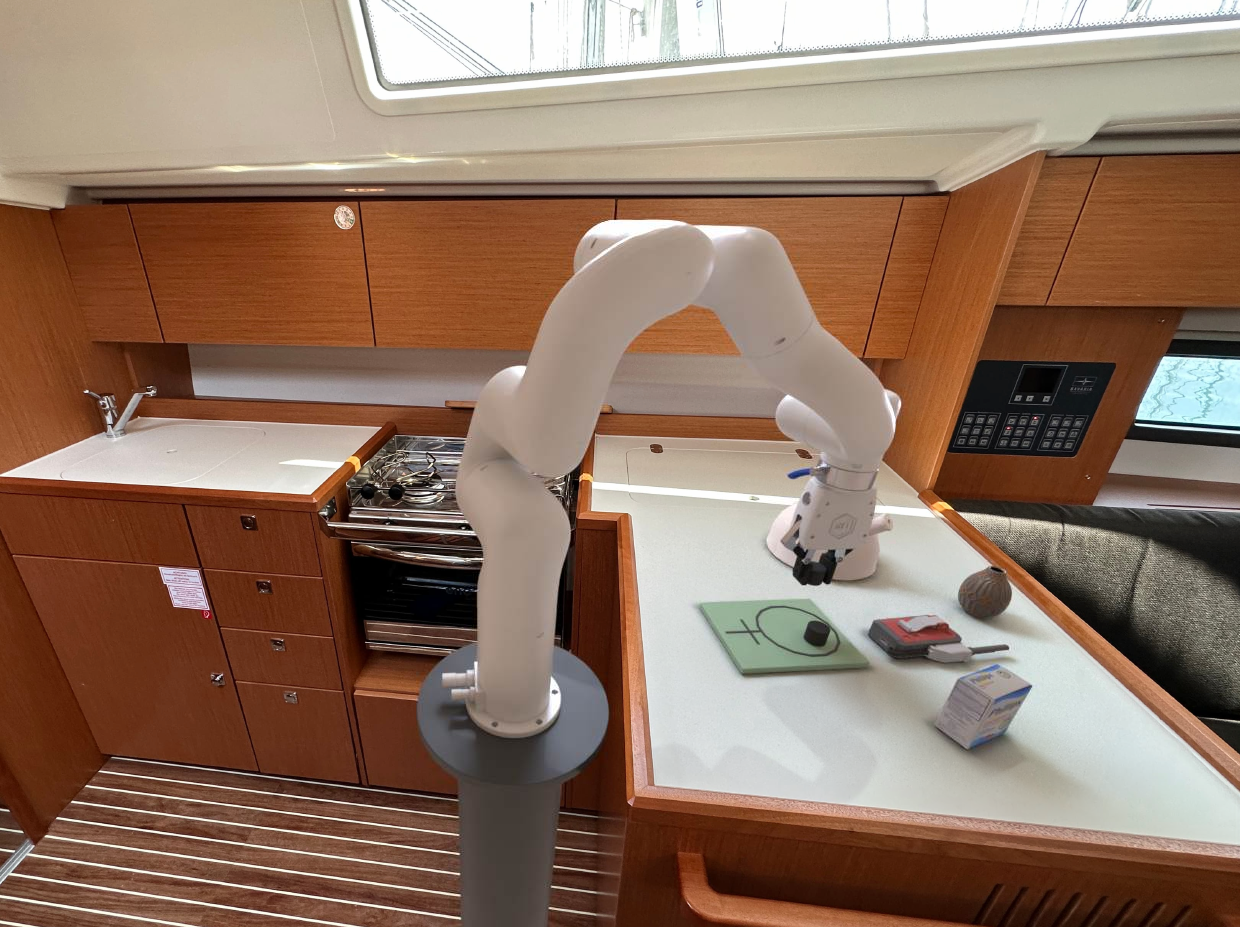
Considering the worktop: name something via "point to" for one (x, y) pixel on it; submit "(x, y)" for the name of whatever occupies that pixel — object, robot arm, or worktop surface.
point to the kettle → (851, 568)
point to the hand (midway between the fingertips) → (811, 579)
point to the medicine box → (982, 705)
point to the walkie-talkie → (924, 639)
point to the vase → (985, 593)
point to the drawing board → (778, 636)
